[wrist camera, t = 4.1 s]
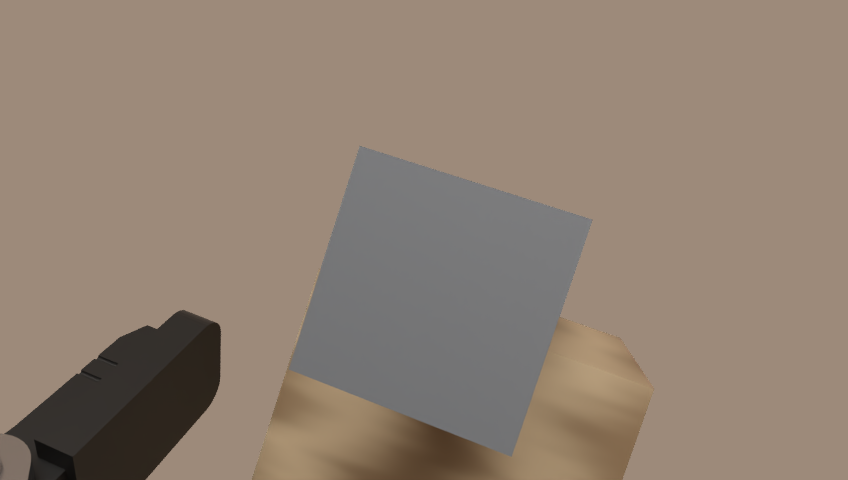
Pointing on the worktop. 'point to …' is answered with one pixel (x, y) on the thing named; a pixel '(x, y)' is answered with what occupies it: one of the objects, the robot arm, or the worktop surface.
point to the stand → (458, 457)
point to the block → (439, 298)
